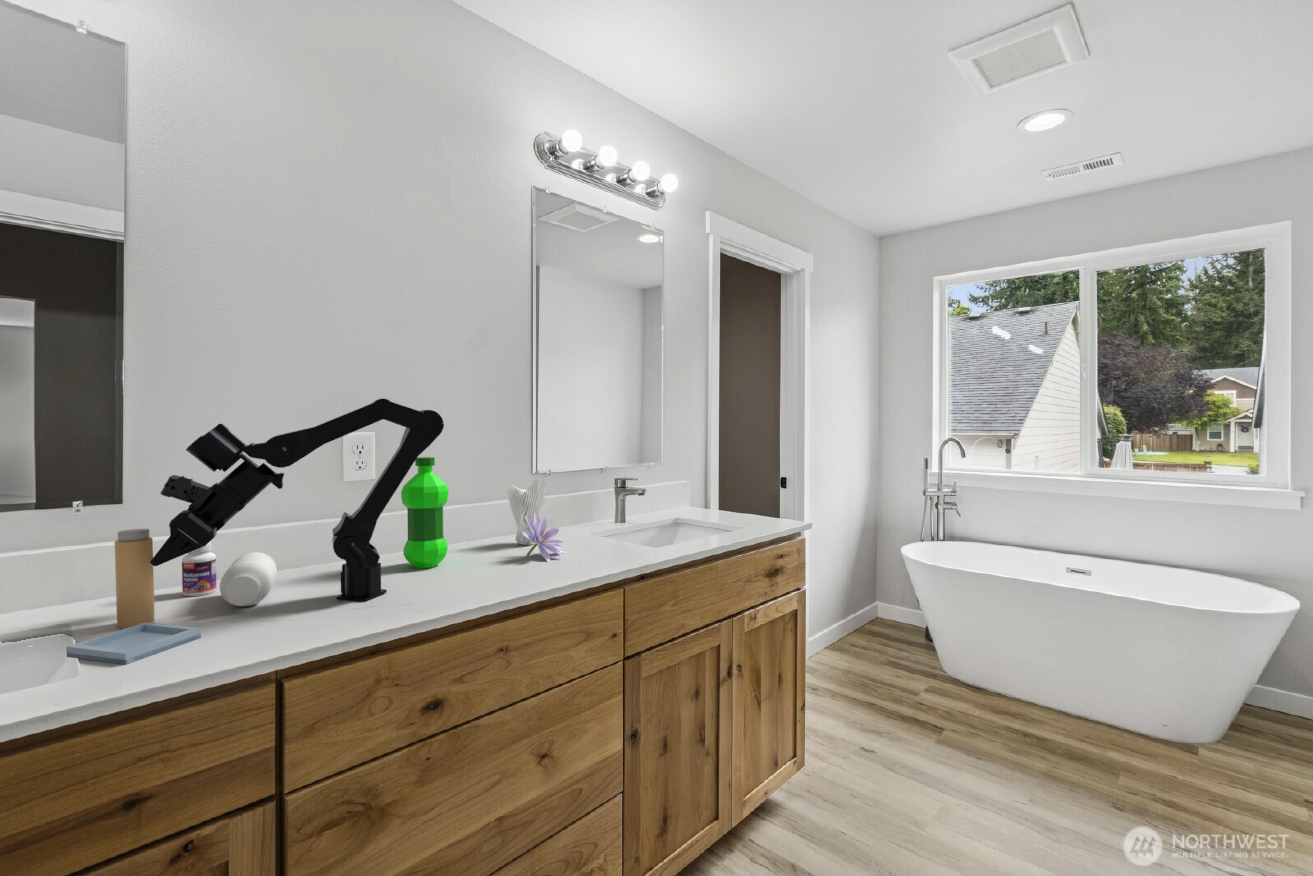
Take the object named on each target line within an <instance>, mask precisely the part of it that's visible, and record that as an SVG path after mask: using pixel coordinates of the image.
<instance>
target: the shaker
mask: <svg viewBox="0 0 1313 876" xmlns="http://www.w3.org/2000/svg"><path fill="white" fill-rule="evenodd" d="M153 545H154V544H153V537H151V536H150V529H149V528H133V529H124V530H120V531H117V539H116V540H115V541H114V559H115V560H114V561H115V563H114V565H115V567H114V568H115V601H116V628H117V629H120V630H122V629H125V628H129V627H132V626H135V625H138V624H142V623H145V622H149V623H155V619H156V617H155V615H156V614H155V585H154V582H155V581H154V566H153V565H152V564H151V563H150V561H151V560H152V559H153V557H154V550H153V549H154V547H153Z"/></svg>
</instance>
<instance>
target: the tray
mask: <svg viewBox="0 0 1313 876" xmlns="http://www.w3.org/2000/svg"><path fill="white" fill-rule="evenodd" d="M200 638H202V628H201V627H195V626H188V625H187V626H186V625H176V624H169V623H168V624H166V623H157V622H153V623H149V622H145V623H142V624H138V625H135V626H132V627H129V628H125V629H120V630H116V631H112V632H109V633H106V634H103V635H100V636H97V637H93V638H90V639H86V640H84V641H80V642H77V643H73V644H71V645H68V646H66V657H67V658H73V659H81V660H89V661H97V662H105V663H111V664H120V665H121V664H122V665H128V664H130V663H134V662H136V661H139V660H142V659H144V658H147V657H150V656H153V655H156V654H158V653H162V652H164V651H167V650H170V649H172V648H173V649H174V648H175V647H177V646H181V645H183V644H186V643H188V642H192V641H195V640H198V639H200Z"/></svg>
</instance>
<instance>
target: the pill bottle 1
mask: <svg viewBox="0 0 1313 876" xmlns="http://www.w3.org/2000/svg"><path fill="white" fill-rule="evenodd" d="M211 550H212V542H211V541H210V542H209V543H208V544H207V545H205V546H203V547H202V548H199V549H196V550H194V551H192V552H189V553H187V554H185V555H183V556H182V559H181V574H182V575H181V577H182V578H181V581H182V582H181V584H182V585H181V590H182V592H181V593H182V595H183V596H185V597H199V596H200V597H201V596H205V595H210V594H213V593H215V592H216V591H217V555H216V554H215V553H214V552H211Z"/></svg>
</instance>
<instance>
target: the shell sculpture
mask: <svg viewBox="0 0 1313 876" xmlns="http://www.w3.org/2000/svg"><path fill="white" fill-rule="evenodd" d="M546 483H547V482H546V480H544V478H541V477H540V478H539V477H537V478H535V479H534V480H533V482H532V483H531V485H530V486H529V487H528V488H527V489H521V488H518V487H517V486H516V485H514V484H509V488H508V491H507V493H508V501H509V506H510V509H511V512H512V515H513V518H514V520H515V521H514V522H515V523H516V526H517V530H516V535H515V542H516V543H517V544H520V545H522V546H523V545H524V546H530V545H535V544H536V543H534V542H531V541H529V540H528V539H527V538H526V537H525V536H524V535H523V532H524V531H528V532H530V533H531V531H530V530H529V528H528V525H527V522H526V519H525V516H527V517H528V518H529V519H530V520H531V521H532V523H533V518H534V513H536V514H537V515H538V517H539V518H540V514H541V513H542V512H541V511H542V508H543V506H544V504H545V497H546V494H547V490H546ZM533 525H534V523H533ZM531 534H532V533H531ZM532 535H533V534H532Z"/></svg>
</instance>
